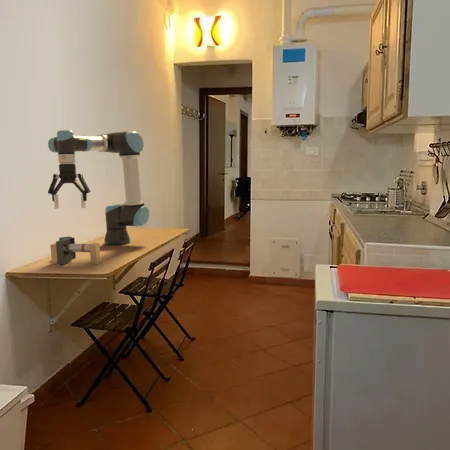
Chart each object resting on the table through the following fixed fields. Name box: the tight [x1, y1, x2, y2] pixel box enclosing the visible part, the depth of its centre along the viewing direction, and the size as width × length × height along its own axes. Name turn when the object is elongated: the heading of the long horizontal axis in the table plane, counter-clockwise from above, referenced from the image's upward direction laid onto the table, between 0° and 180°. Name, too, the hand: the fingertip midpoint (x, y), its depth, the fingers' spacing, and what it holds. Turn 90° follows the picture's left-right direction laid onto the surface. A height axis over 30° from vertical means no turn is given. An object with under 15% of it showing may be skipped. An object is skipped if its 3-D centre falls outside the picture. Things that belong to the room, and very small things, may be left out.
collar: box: [55, 239, 72, 265], centre depth 226 cm, size 3×8×11 cm, turn 171°
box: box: [58, 236, 77, 260], centre depth 240 cm, size 8×6×11 cm
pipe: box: [50, 242, 102, 265], centre depth 225 cm, size 23×4×10 cm, turn 81°
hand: (70, 208), depth 225 cm, fingers open, 13 cm apart
